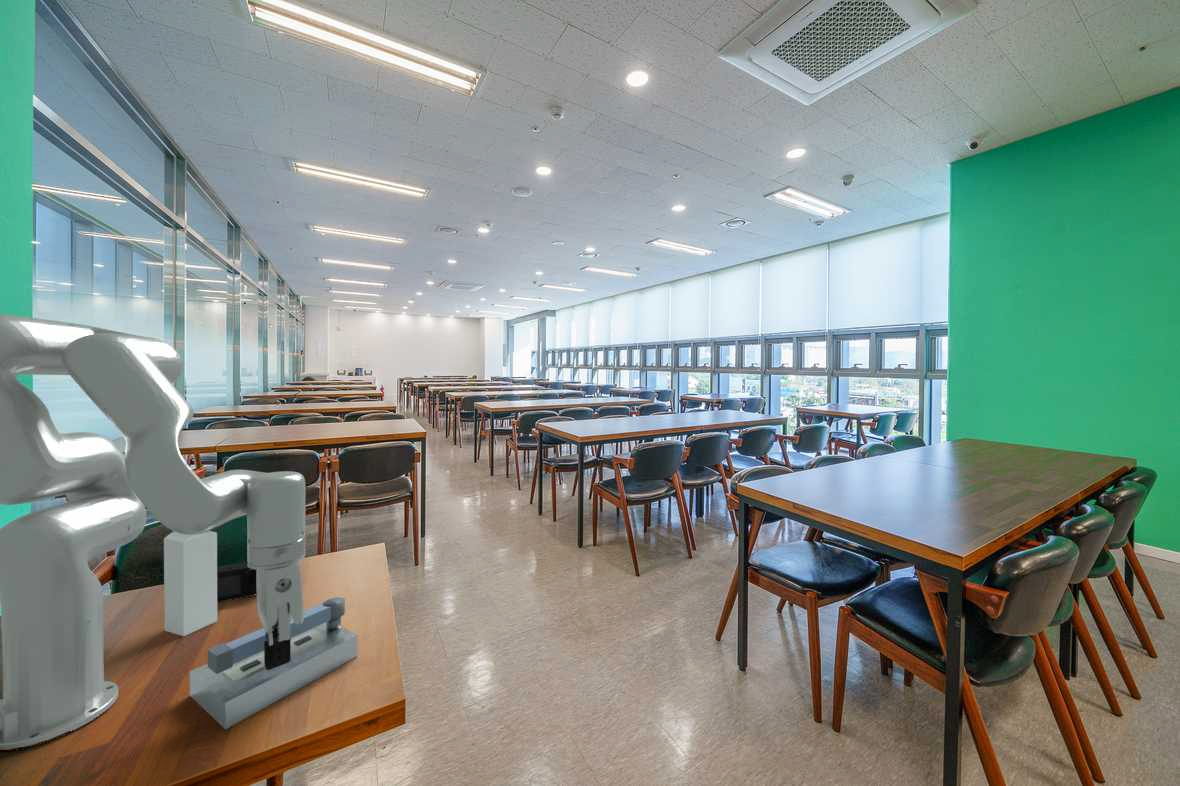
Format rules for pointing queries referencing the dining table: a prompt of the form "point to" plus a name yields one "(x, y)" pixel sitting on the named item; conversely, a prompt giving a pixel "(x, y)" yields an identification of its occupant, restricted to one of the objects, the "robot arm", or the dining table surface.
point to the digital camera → (235, 581)
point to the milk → (190, 581)
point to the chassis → (271, 674)
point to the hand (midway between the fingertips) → (277, 663)
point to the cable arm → (254, 642)
